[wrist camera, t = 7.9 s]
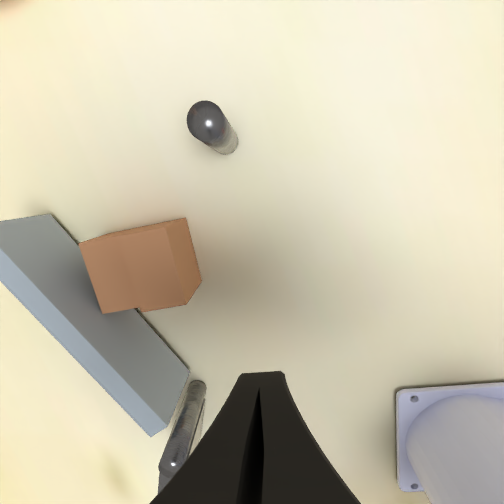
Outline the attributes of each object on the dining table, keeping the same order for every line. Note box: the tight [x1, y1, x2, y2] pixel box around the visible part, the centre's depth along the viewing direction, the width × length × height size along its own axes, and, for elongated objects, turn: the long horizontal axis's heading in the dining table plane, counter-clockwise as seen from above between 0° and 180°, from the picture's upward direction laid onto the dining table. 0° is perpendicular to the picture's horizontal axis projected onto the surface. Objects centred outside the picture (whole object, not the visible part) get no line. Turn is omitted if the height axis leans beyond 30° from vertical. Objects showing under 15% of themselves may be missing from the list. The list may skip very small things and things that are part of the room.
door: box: [0, 214, 190, 437], centre depth 16 cm, size 2×13×4 cm, turn 38°
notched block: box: [78, 218, 202, 314], centre depth 16 cm, size 5×4×4 cm
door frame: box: [158, 101, 238, 494], centre depth 16 cm, size 1×20×6 cm, turn 172°
